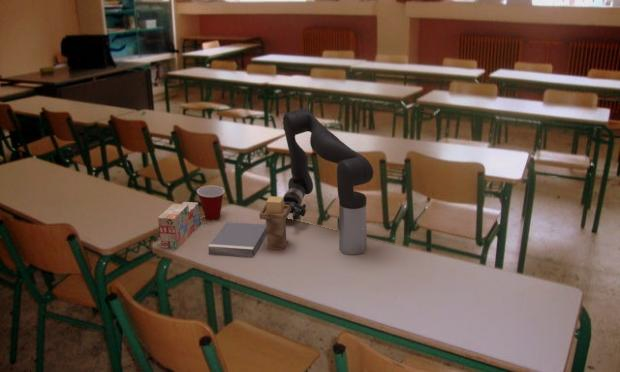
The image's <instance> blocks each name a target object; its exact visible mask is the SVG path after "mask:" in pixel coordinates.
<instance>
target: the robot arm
mask: <svg viewBox="0 0 620 372" xmlns="http://www.w3.org/2000/svg"><path fill="white" fill-rule="evenodd" d="M282 125H283V130H284V134H285V135H284V136H285V138H286V144H287V148H288V151H289V153H288V154H289V159H290V170H291V175H292V176H293V177H290V178H289V179H288V183H287V185H288V190H286V192H285V193H284V195H283V197H284V205H291V211H290V213H289V214H292V220H293V221H296V220H297V219H298V218H299V217H305V216H306V212H307V204H305V203H304V204H303V200H304V197H305V195H310V194H311V193H312V192H313V191H314V190H313V189H314V181H313V180H312V177H311V175H310V174H311V173H310V172H309V161H308V155H307V153H306V152H305V150H304V149H303V148H302V147H301V146H300V145H299V143H298V142H297V139H296V135H301V134H304V133H306V132H309V133H310V140H309V145H310V148H311V149H312V150H313V151H314V152H315V153H316V154H317V156H319V158H322V159H323V160H324V161H328V162H330V163H334V164H337V166H336V180H337V181H336V183H337V184H336V185H337V196H338V200H339V201H338V207H339V209H338V211H339V212H338V216H339V217H338V218H339V221H338V222H339V223H338V224H339V225H338V230H339V233H338V236H339V239H338V240H339V241H338V243H339V246H338V247H339V251H340V252H341V253H343V254H346V255H351V256H352V255H353V256H354V255H356V256H357V255H359V254H361V255H362V254H365V253H366V249H367V237H368V236H367V233H368V232H367V227H368V226H367V225H368V223H367V196H366V195H365V194H364V193H362V192H360V191H356V190H355V191H354V187H356V186H360V185H365V184H368V183H369V182H371V181H372V179H373V177H374V168H373V166H372V164H371V162H370V161H369V160H368V159H367V157H364V156H363V155H362V154H360V153H358V152H357V151H355V150H354V149H352V148H350V147H349V145H347V144H345V143H344V142H343V141H341V139H340V138H338V137H337V136H336V135H335V134H334V133H333V132H331V131H330V130H329V129H327V128H326V127H325V126H324V125H323V124H322V123H321V122H320V121H319V119H317V117H316V116H315V115H314V114H313V113H312V112H311V111H310V110H309V109H307V108H305V107H304V108H298V109H295V110H292V111H289V112H288V111H287V112H286V113H285V114H283V117H282Z"/></svg>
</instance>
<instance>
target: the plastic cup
mask: <svg viewBox="0 0 620 372" xmlns="http://www.w3.org/2000/svg"><path fill="white" fill-rule="evenodd" d="M225 191H226V190H225V188H224V187H221V186H218V185H210V184H209V185H204V186H201V187H199V188H198V189H197V190H196V193H197V195H198V197H199V200H200V203H201V204H200V205H201V207H202V211H203V215H204V218H205V219H206V220H207V221H217V220H219V219H220V218H221V213H222V212H221V211H222V204H223V203H222V202H223V197H224V194H225Z"/></svg>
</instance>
